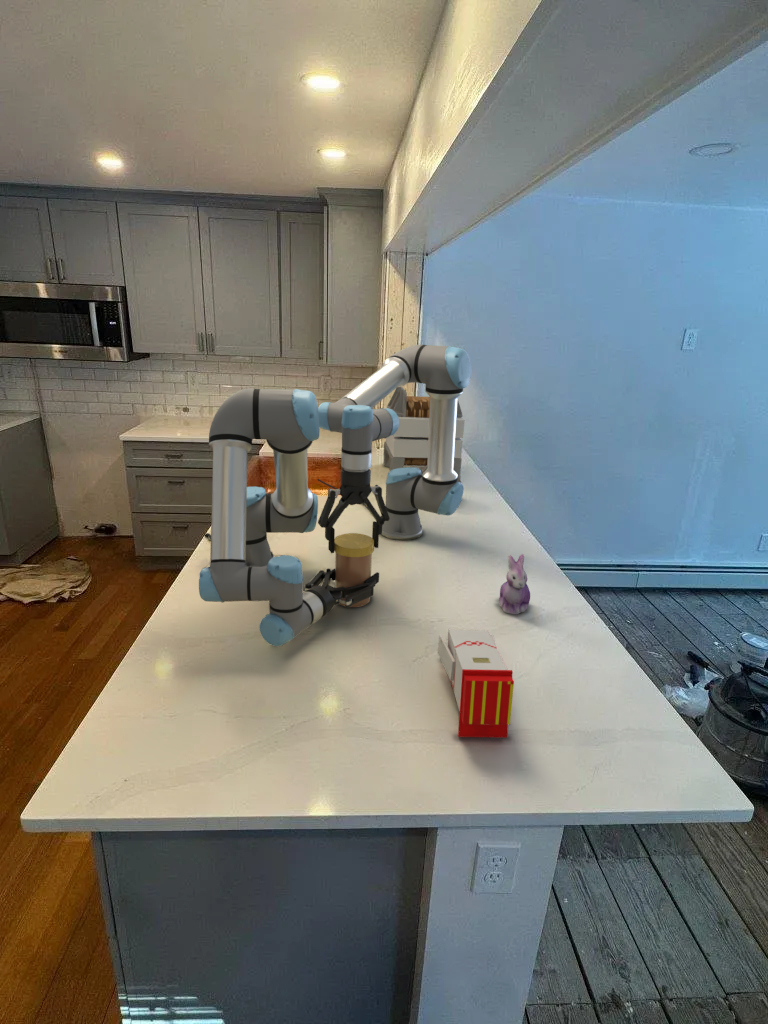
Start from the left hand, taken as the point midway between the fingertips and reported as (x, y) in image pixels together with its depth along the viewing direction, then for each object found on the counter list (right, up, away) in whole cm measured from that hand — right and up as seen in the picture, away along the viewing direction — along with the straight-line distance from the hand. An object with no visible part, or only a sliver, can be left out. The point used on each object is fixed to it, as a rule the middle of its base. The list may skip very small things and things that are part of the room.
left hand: (361, 572), depth 156 cm
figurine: (+41, -9, -2) cm, 42 cm away
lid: (-2, +9, -7) cm, 11 cm away
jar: (-3, -7, -1) cm, 8 cm away
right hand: (-2, +7, -7) cm, 10 cm away
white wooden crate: (+23, +35, +119) cm, 127 cm away
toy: (+24, -21, -37) cm, 49 cm away
